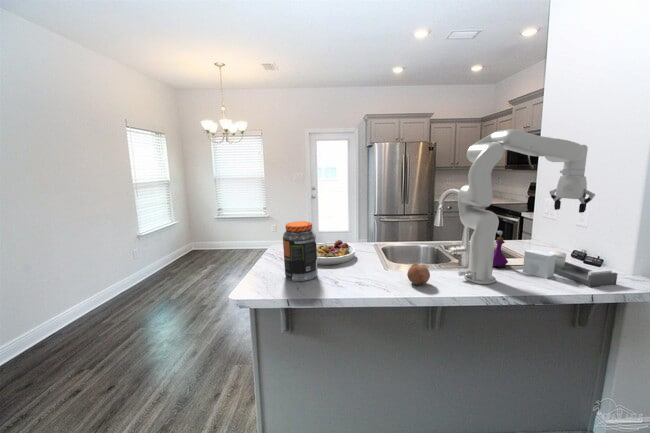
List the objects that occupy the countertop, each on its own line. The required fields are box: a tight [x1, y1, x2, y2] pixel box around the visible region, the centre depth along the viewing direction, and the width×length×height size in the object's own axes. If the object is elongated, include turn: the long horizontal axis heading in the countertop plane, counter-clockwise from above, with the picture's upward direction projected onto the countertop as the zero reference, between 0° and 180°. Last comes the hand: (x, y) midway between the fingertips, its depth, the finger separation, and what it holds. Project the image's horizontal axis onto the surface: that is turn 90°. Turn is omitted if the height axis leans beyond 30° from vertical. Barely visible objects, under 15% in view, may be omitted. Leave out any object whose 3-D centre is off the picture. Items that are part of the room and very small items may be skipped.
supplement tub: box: [282, 220, 318, 282], centre depth 142 cm, size 16×16×26 cm
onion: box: [406, 263, 431, 287], centre depth 130 cm, size 10×9×10 cm
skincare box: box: [522, 248, 556, 279], centre depth 138 cm, size 10×6×10 cm, turn 29°
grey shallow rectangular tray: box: [554, 261, 618, 288], centre depth 136 cm, size 13×26×5 cm, turn 9°
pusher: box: [587, 269, 613, 280], centre depth 125 cm, size 10×1×5 cm, turn 99°
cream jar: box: [548, 250, 567, 270], centre depth 144 cm, size 7×7×7 cm
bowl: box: [316, 239, 356, 266], centre depth 170 cm, size 30×30×8 cm
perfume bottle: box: [493, 230, 509, 268], centre depth 150 cm, size 8×8×18 cm
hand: (569, 210), depth 136 cm, fingers open, 9 cm apart
